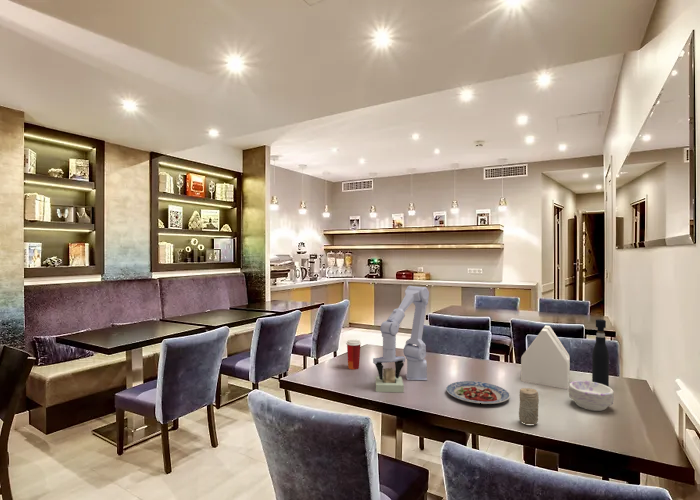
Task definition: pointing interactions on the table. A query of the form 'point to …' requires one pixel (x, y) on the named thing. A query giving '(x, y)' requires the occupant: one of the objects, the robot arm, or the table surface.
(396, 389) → the socket block
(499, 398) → the ceramic plate
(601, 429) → the table surface
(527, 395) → the jute twine spool
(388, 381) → the maple peg
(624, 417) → the table surface
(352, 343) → the paper cup
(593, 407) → the white round bowl
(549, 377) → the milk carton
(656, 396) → the table surface
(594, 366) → the wine bottle
